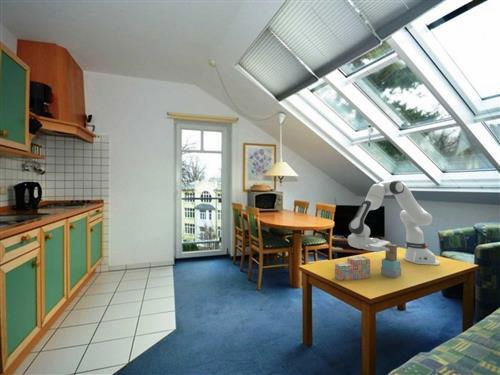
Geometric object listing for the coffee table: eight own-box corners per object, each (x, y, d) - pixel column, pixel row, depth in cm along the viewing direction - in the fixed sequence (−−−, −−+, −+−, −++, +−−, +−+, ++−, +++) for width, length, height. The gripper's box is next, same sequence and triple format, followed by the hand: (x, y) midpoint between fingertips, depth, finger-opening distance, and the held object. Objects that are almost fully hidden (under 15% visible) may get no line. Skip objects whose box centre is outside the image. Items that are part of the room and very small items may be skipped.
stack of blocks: (340, 281, 154) (340, 261, 154) (334, 277, 160) (334, 258, 160) (370, 278, 159) (370, 258, 159) (363, 274, 165) (363, 255, 165)
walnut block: (388, 258, 168) (388, 243, 168) (396, 260, 164) (396, 244, 164) (385, 259, 165) (385, 244, 165) (393, 261, 161) (393, 246, 161)
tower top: (387, 264, 170) (388, 257, 170) (400, 268, 164) (400, 260, 164) (381, 266, 166) (381, 259, 166) (394, 270, 159) (394, 262, 159)
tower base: (386, 271, 171) (386, 264, 171) (401, 275, 164) (401, 267, 164) (380, 274, 165) (380, 267, 165) (395, 278, 158) (395, 271, 158)
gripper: (364, 242, 167) (386, 246, 157) (377, 237, 181) (398, 241, 170) (363, 251, 168) (385, 256, 157) (377, 246, 181) (398, 250, 170)
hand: (392, 248), depth 164 cm, fingers open, 8 cm apart
